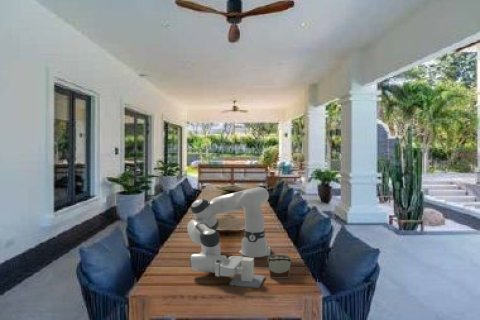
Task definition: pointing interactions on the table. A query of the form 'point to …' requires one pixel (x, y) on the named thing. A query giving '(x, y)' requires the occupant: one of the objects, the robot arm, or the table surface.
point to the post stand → (255, 282)
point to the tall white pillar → (247, 269)
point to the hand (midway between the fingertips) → (248, 266)
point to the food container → (279, 266)
